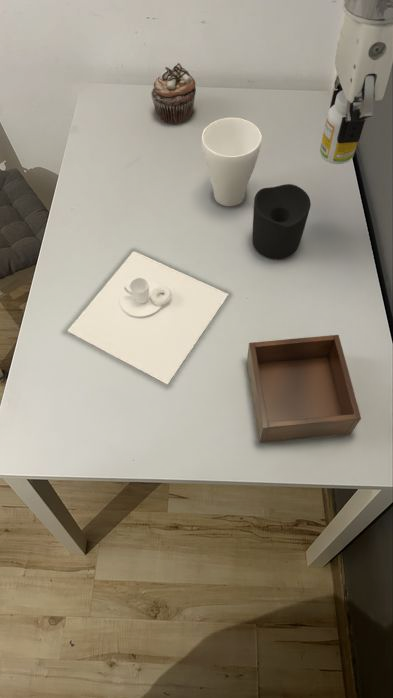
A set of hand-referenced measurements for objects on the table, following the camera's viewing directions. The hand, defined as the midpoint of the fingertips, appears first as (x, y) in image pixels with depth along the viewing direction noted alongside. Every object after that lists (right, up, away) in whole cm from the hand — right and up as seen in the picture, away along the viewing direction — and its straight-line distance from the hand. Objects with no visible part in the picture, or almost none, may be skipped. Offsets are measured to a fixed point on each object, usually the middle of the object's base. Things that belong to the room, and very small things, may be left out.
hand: (343, 126), depth 76 cm
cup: (-16, -3, +23) cm, 28 cm away
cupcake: (-27, +19, +36) cm, 49 cm away
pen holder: (-8, -14, +17) cm, 23 cm away
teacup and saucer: (-30, -27, +10) cm, 42 cm away
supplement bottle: (0, -2, +4) cm, 5 cm away
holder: (-7, -41, +2) cm, 42 cm away
